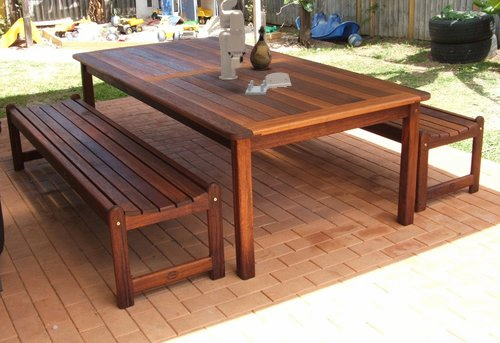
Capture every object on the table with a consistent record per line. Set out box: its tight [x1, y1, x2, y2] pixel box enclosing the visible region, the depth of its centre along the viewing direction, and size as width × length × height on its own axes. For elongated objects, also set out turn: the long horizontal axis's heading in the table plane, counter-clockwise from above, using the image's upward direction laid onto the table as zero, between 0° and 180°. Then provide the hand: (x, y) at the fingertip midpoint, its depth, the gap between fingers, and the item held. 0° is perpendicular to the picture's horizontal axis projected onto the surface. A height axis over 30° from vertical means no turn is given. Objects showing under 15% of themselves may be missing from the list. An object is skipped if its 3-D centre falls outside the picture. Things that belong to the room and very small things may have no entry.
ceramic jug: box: [249, 25, 273, 71], centre depth 493 cm, size 17×15×30 cm
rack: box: [244, 79, 269, 96], centre depth 427 cm, size 18×12×6 cm, turn 173°
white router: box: [264, 72, 292, 90], centre depth 440 cm, size 17×5×10 cm, turn 108°
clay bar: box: [231, 53, 244, 69], centre depth 426 cm, size 16×4×6 cm, turn 172°
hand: (237, 62), depth 427 cm, fingers closed on clay bar, 4 cm apart
